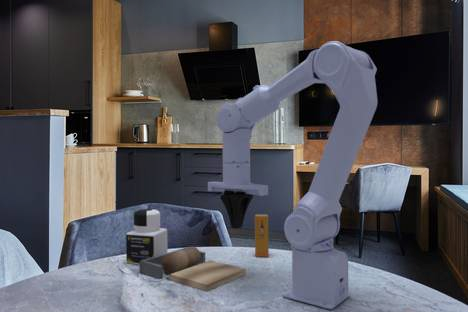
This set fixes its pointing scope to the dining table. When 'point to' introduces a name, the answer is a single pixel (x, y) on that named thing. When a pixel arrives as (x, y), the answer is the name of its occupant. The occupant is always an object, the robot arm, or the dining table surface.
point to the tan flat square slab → (207, 275)
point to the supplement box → (261, 236)
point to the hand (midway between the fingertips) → (236, 227)
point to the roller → (181, 260)
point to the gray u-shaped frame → (158, 265)
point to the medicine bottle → (146, 237)
